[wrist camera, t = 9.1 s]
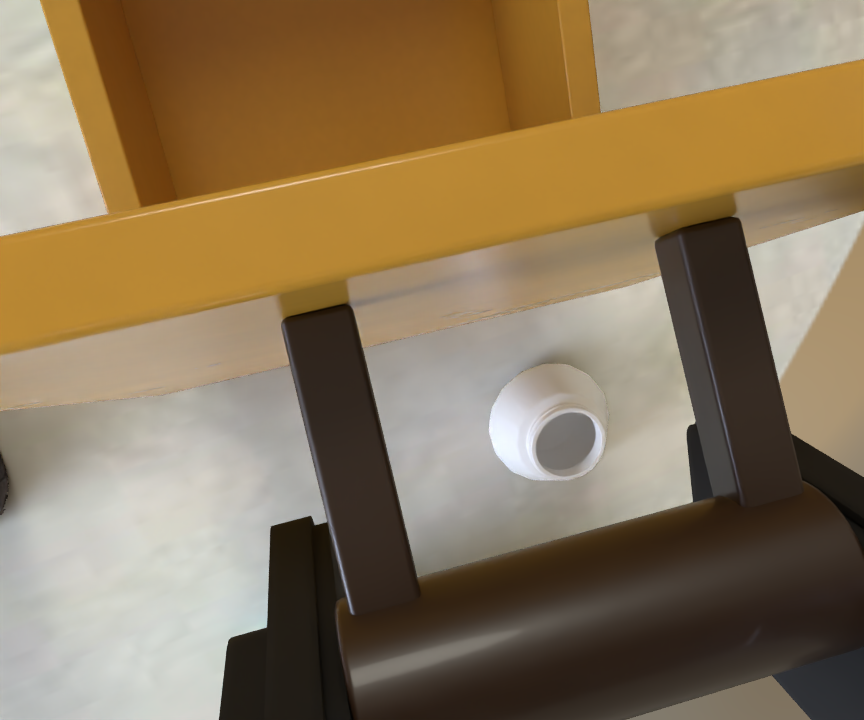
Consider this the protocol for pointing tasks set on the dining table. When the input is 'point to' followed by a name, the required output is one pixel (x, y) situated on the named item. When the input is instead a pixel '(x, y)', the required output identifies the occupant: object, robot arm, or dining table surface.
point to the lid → (479, 300)
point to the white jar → (550, 423)
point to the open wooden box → (306, 83)
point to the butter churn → (3, 486)
